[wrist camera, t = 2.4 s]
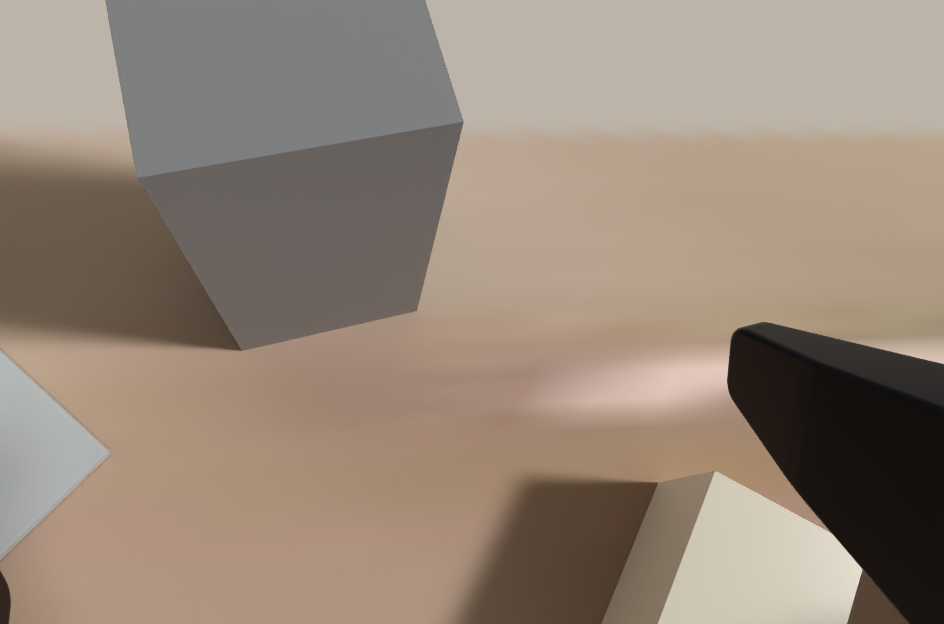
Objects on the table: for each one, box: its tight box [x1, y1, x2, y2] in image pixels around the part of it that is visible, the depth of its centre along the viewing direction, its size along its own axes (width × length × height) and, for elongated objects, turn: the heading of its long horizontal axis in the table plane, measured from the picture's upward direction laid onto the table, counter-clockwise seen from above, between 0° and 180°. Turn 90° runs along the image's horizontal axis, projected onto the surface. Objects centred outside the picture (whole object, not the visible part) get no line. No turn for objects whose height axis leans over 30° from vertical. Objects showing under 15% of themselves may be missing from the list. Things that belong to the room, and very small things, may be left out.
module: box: [106, 0, 463, 351], centre depth 18 cm, size 4×6×11 cm
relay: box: [602, 471, 862, 624], centre depth 20 cm, size 6×4×4 cm
